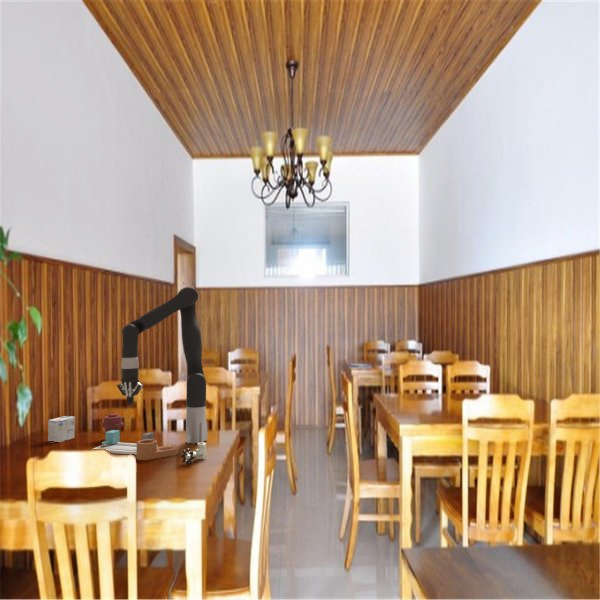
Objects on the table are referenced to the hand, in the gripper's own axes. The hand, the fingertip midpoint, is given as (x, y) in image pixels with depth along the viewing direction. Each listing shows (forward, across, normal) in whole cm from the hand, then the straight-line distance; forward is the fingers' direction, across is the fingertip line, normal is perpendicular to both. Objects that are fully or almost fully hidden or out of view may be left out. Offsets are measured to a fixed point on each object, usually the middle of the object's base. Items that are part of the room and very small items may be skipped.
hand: (130, 404), depth 226 cm
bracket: (+20, -19, +8) cm, 29 cm away
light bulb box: (+20, +42, -5) cm, 46 cm away
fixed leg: (+19, -9, +2) cm, 21 cm away
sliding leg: (+18, +9, +2) cm, 20 cm away
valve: (+21, -39, +11) cm, 46 cm away
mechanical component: (+20, +18, -12) cm, 29 cm away
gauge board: (+20, 0, +3) cm, 20 cm away
